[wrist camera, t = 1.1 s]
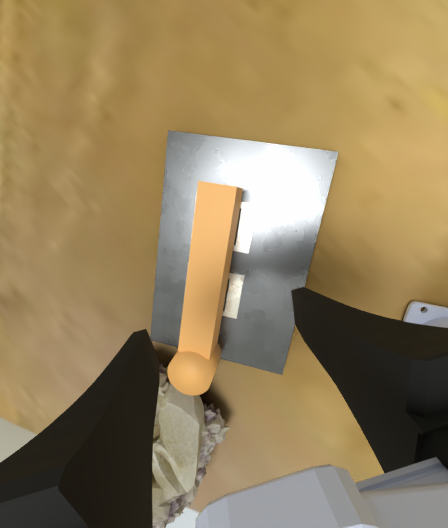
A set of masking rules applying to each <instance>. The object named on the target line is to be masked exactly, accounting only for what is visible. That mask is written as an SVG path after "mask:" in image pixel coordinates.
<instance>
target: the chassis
mask: <svg viewBox="0 0 448 528" xmlns="http://www.w3.org/2000/svg"><path fill="white" fill-rule="evenodd" d="M337 156H338V152H335V151H327V150H319V149H311V148H303V147H295V146H287V145H279V144H271V143H263V142H256V141H248V140H240V139H232V138H224V137H216V136H208V135H200V134H192V133H184V132H176V131H168V139H167V151H166V162H165V174H164V185H163V197H162V209H161V220H160V232H159V243H158V255H157V267H156V278H155V290H154V301H153V313H152V325H151V336H150V340H152V341H156V342H160V343H163V344H167V345H171V346H175V347H178V345H179V337H180V328H181V320H182V312H183V304H184V295H185V287H186V279H187V270H188V262H189V254H190V245H191V237H192V229H193V221H194V212H195V204H196V196H197V187H198V181H203V182H210V183H216V184H223V185H229V186H235V187H239V188H243V192H242V198H241V204H240V210H239V216H238V222H237V228H236V234H235V240H234V246H233V253H232V259H231V265H230V271H229V277H228V283H227V289H226V295H225V301H224V307H223V313H222V319H221V325H220V331H219V337H218V341H217V342H218V344H219V346H220V349H221V357H220V359H224V360H228V361H232V362H235V363H239V364H243V365H247V366H250V367H254V368H258V369H262V370H266V371H269V372H273V373H277V374H281V375H282V373H283V369H284V365H285V362H286V358H287V354H288V350H289V346H290V342H291V338H292V334H293V330H294V326H295V320H294V311H293V303H292V294H291V290H293V289H297V288H301V287H304V286H305V282H306V278H307V275H308V271H309V267H310V263H311V259H312V255H313V251H314V247H315V243H316V239H317V235H318V231H319V227H320V223H321V219H322V215H323V211H324V207H325V203H326V199H327V195H328V191H329V188H330V184H331V180H332V176H333V172H334V168H335V164H336V160H337Z"/></svg>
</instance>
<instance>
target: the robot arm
mask: <svg viewBox="0 0 448 528" xmlns="http://www.w3.org/2000/svg"><path fill="white" fill-rule="evenodd" d="M291 294H292V303H293V311H294V320H295V325H296V327H297V329H298V330H299V332H300V334H301V336H302V338H303V340H304V341H305V343H306V344H307V345H308V347H309V348H310V350H311V351H312V352H313V354H314V355H315V356H316V358H317V359H318V360H319V362H320V363H321V365H322V366H323V367H324V369H325V370H326V371H327V373H328V374H329V375H330V377H331V378H332V380H333V381H334V383H335V384H336V386H337V387H338V389H339V391H340V392H341V394H342V396H343V398H344V399H345V401H346V403H347V404H348V406H349V408H350V410H351V411H352V413H353V415H354V417H355V418H356V420H357V422H358V424H359V426H360V427H361V429H362V431H363V433H364V435H365V437H366V438H367V440H368V442H369V444H370V446H371V448H372V450H373V451H374V453H375V455H376V457H377V459H378V461H379V463H380V465H381V467H382V469H383V471H384V473H385V474H382V475H378V476H375V477H372V478H369V479H366V480H363V481H360V482H357V483H354V481H353V479H352V478H351V476H350V474H349V472H348V470H346V469H343V468H340V467H337V466H333V465H330V464H328V465H322V466H315V467H310V468H307V469H304V470H301V471H298V472H294V473H291V474H288V475H285V476H282V477H279V478H276V479H272V480H269V481H266V482H263V483H260V484H257V485H254V486H250V487H247V488H244V489H241V490H238V491H235V492H232V493H228V494H226V495H224V496H222V497H220V498H218V499H216V500H214V501H212V502H210V503H209V504H208V505H207V506H206V507H205V508H204V509H203V510H202V511H201V513H200V514H199V515H198V517H197V518H196V528H448V307H443V306H438V305H433V304H428V303H423V302H418V301H413V302H411V303H410V304H409V305H408V308H407V310H406V313H405V316H404V318H403V321H400V320H395V319H390V318H386V317H382V316H378V315H375V314H371V313H368V312H365V311H361V310H358V309H356V308H353V307H350V306H347V305H345V304H342V303H339V302H337V301H335V300H332V299H330V298H328V297H325V296H323V295H321V294H318V293H316V292H314V291H312V290H309V289H307V288H304V287H301V288H297V289H293V290H291ZM422 307H425V309H424V310H423V311H420V309H421V308H422ZM159 383H160V368H159V359H158V357H157V355H156V352H155V350H154V347H153V345H152V342H151V340H150V337H149V335H148V332H147V330H146V329H144V330H141V331H137V332H133V334H132V335H131V336H130V337H129V339H128V340H127V341H126V343H125V344H124V345H123V347H122V348H121V349H120V351H119V352H118V353H117V355H116V356H115V357H114V358H113V360H112V361H111V362H110V364H109V365H108V366H107V367H106V368H105V370H104V371H103V372H102V373H101V374H100V376H99V377H98V378H97V379H96V380H95V382H94V383H93V384H92V385H91V386H90V387H89V388H88V389H87V390H86V391H85V392H84V393H83V394H82V395H81V396H80V397H79V398H78V399H77V400H76V401H75V402H74V403H73V404H72V405H71V406H70V407H69V408H68V409H67V410H66V411H65V412H64V413H62V414H61V415H60V416H59V417H58V418H57V419H56V420H55V421H54V422H52V423H51V424H50V425H49V426H48V427H47V428H45V429H44V430H43V431H42V432H41V433H39V434H38V435H37V436H36V437H34V438H33V439H32V440H30V441H29V442H28V443H27V444H25V445H24V446H23V447H21V448H20V449H19V450H17V451H16V452H15V453H13V454H12V455H11V456H9V457H8V458H6V459H5V460H4V461H2V462H1V463H0V528H153V510H152V460H153V434H154V424H155V416H156V408H157V400H158V392H159Z"/></svg>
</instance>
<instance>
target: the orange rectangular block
mask: <svg viewBox="0 0 448 528" xmlns="http://www.w3.org/2000/svg"><path fill="white" fill-rule="evenodd" d="M242 192H243V188H239V187H235V186H229V185H223V184H216V183H210V182H203V181H198V187H197V196H196V204H195V212H194V221H193V229H192V237H191V245H190V254H189V262H188V270H187V279H186V287H185V295H184V304H183V312H182V320H181V328H180V337H179V345H178V351H177V353H176V354H175V356H174V357H173V359H172V360H171V362H170V364H169V366H168V370H167V373H168V378H169V380H170V382H171V384H172V385H173V386H174V387H175V388H176V389H177V390H178V391H180V392H181V393H183V394H186V395H192V396H195V395H200V394H203V393H204V392H206V391H207V390H208V388H209V387H210V385H211V382H212V379H213V377H214V374H215V371H216V368H217V366H218V363H219V360H220V357H221V349H220V346H219V344H218V342H217V341H218V337H219V331H220V325H221V319H222V313H223V307H224V301H225V295H226V289H227V283H228V277H229V271H230V265H231V259H232V253H233V246H234V240H235V234H236V228H237V222H238V216H239V210H240V204H241V198H242Z"/></svg>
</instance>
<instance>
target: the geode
mask: <svg viewBox="0 0 448 528" xmlns="http://www.w3.org/2000/svg"><path fill="white" fill-rule="evenodd" d="M159 368H160V383H159V392H158V400H157V408H156V416H155V424H154V434H153V460H152V510H153V528H165V527H166V525H167V524H169V523H172V522H174V520H175V518H176V517H178V516H180V515H181V513H183V509H184V508H185V507H186V506H190V504H191V502H193V501H194V499H195V496H196V494H197V491H198V489H197V488H198V486H199V484H200V483H201V481H202V479H203V478H204V476H205V474H206V469H205V465H206V464H207V463H208V462H209V460H210V459H211V458H212V457H211V456H210V455H209V453H210V452H211V451H212V450H213V449H214V446H215V444H216V443H222V441H223V440H225V434H226V431H227V430H228V429H229V428H230V427H228V426H225V420H224V419H222V417H221V415H220V409H216V410H214V407H213V404H212V403H211V404H210V406H208V407H207V406H206V403H205V404H203V403H202V400H201V398H200V395H195V396H192V395H186V394H183V393H181V392H180V391H178V390H177V389H176V388H175V387H174V386H173V385H172V384H171V382H170V380H169V378H168V373H167V370H168V368H164V367H163V365H162V363H161V364H160V365H159Z"/></svg>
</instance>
